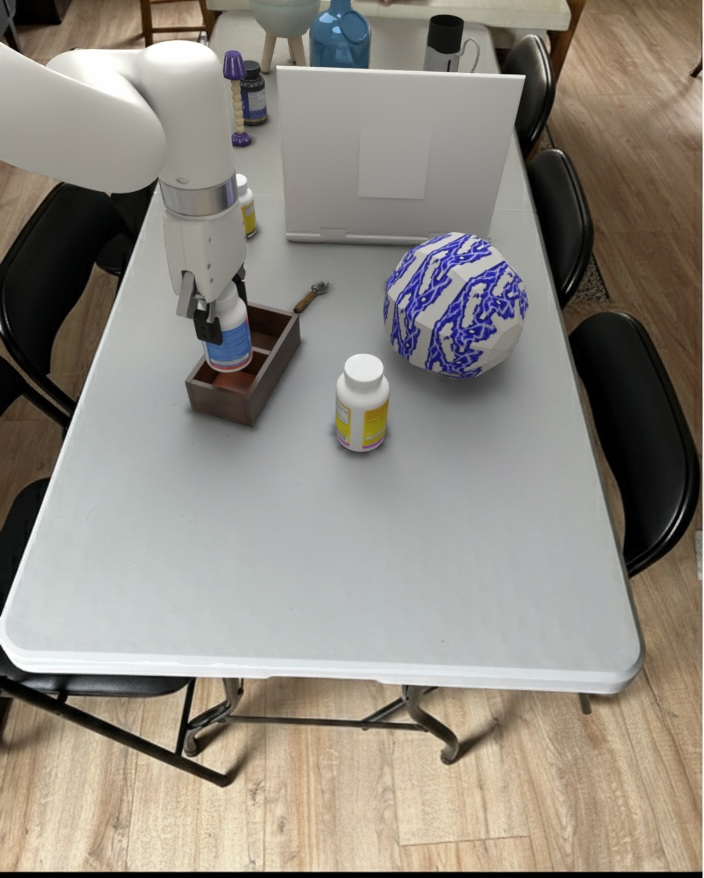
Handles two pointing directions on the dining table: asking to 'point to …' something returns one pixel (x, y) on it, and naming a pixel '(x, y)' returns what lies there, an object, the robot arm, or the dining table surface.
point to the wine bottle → (340, 38)
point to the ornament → (454, 306)
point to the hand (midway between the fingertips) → (223, 321)
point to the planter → (284, 25)
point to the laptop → (392, 152)
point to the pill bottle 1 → (229, 333)
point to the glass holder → (445, 44)
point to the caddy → (248, 369)
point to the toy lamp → (236, 93)
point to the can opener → (310, 296)
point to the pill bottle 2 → (253, 95)
